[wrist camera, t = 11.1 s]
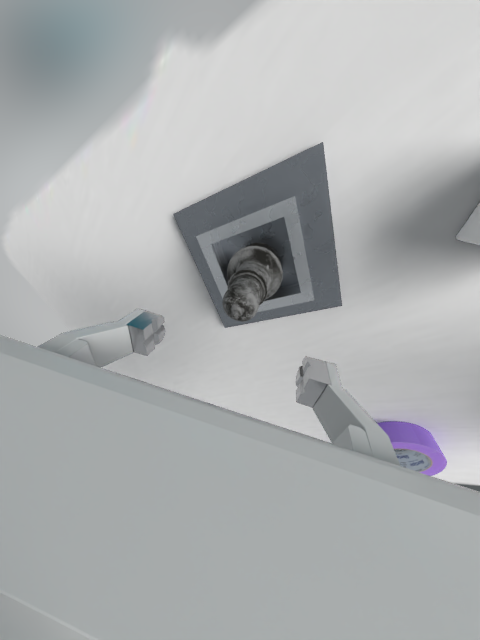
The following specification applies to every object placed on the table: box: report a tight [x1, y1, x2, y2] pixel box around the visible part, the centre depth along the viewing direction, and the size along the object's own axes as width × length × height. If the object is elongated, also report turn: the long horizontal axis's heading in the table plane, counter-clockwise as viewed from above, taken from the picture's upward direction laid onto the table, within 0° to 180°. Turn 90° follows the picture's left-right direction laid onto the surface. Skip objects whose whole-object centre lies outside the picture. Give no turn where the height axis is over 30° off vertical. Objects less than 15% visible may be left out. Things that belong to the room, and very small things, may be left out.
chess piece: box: [222, 242, 283, 322], centre depth 18 cm, size 6×6×12 cm
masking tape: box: [377, 422, 447, 476], centre depth 34 cm, size 12×12×4 cm
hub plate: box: [173, 142, 342, 328], centre depth 22 cm, size 16×16×4 cm
